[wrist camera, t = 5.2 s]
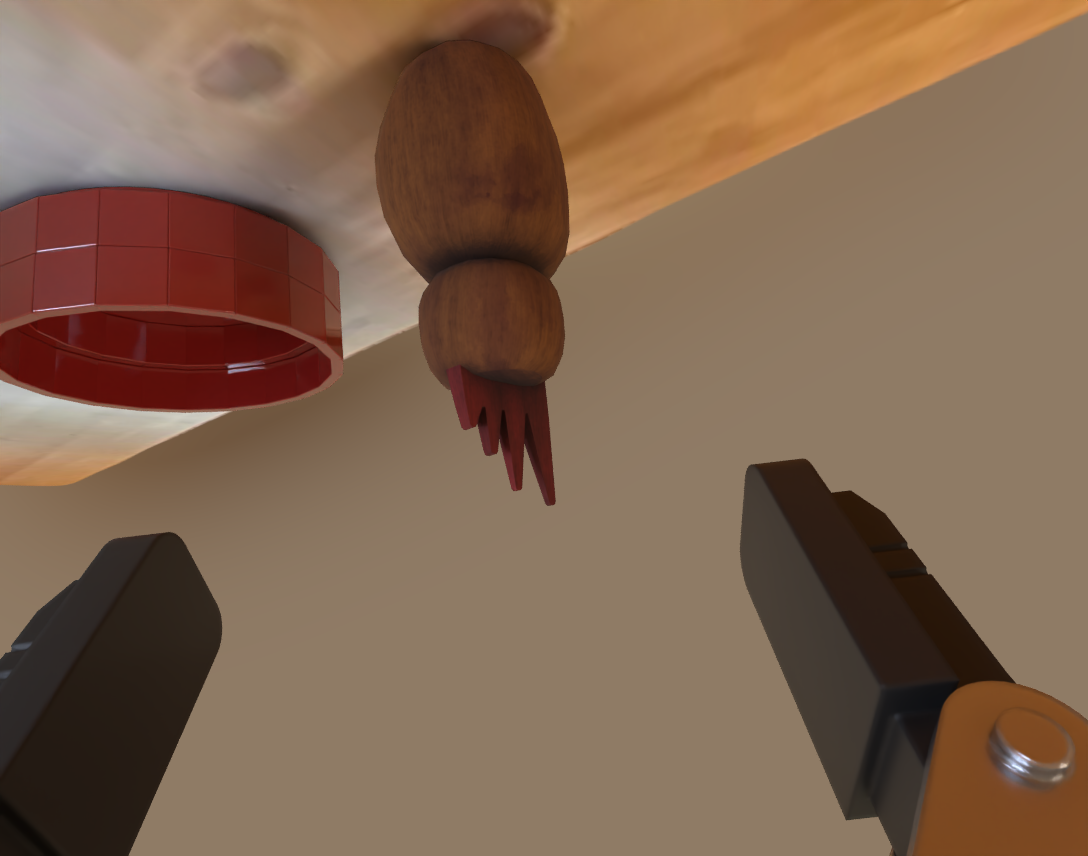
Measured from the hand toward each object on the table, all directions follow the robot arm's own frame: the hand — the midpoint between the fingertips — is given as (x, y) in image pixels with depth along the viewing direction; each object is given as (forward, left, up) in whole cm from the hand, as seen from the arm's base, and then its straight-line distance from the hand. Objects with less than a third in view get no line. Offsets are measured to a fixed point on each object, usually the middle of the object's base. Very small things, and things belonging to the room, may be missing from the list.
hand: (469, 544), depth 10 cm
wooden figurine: (0, -10, -17) cm, 20 cm away
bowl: (-16, -20, -17) cm, 31 cm away
